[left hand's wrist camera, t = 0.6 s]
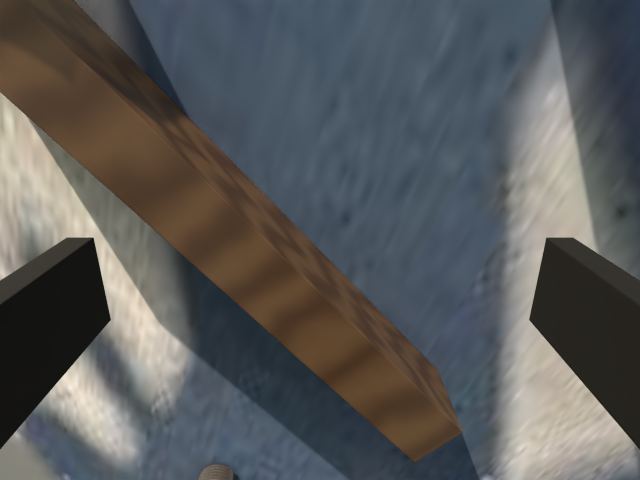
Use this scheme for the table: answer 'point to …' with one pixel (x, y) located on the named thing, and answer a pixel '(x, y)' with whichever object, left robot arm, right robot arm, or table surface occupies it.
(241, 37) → the table surface
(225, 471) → the light bulb
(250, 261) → the board
